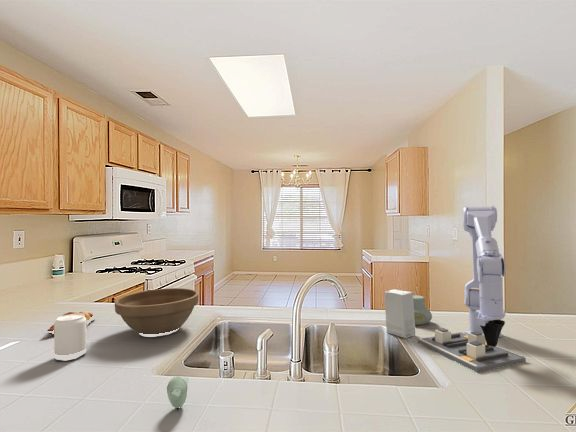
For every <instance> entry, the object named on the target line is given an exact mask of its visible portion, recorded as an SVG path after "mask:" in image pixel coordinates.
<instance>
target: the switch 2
mask: <svg viewBox="0 0 576 432" xmlns="http://www.w3.org/2000/svg"><path fill="white" fill-rule="evenodd" d="M467 356H469V357H471V358H473V359H475V360H477V358H479V357H484V356H485V345H483V344H482V343H479V342H477V341H473V342H469V343H467Z"/></svg>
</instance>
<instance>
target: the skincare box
mask: <svg viewBox="0 0 576 432" xmlns="http://www.w3.org/2000/svg"><path fill="white" fill-rule="evenodd" d="M413 295H414V292H413V291H405V290H401V289H396V288H394V289H390V290H386V291H384V307H385V308H384V309H385V326H386V333H388V334H390V335H393V336H397V337H400V338H403V339H407V338H410V337H414V336H416V325H415V319H414V303H413Z"/></svg>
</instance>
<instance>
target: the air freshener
mask: <svg viewBox="0 0 576 432" xmlns="http://www.w3.org/2000/svg"><path fill="white" fill-rule="evenodd" d="M425 300H426V299H425V297H424V296H422V295H417V294H415V295H414V294H413V303H414V319H415V326H422V325H427V324H429V323H430V322H431V320H432V319H433V314H432V312H431V311H430V309H428V308H426V307H425V305H426V304H425V303H426V302H425Z"/></svg>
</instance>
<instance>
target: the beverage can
mask: <svg viewBox="0 0 576 432" xmlns="http://www.w3.org/2000/svg"><path fill="white" fill-rule="evenodd" d="M63 315H64V314H63ZM54 323H55V324H53V325H54V335H53V336H54V337H53V338H54V347H53V349H54V352H53V353H55V354H57V355H69V354H74V353H77V352H80V351H82V350H84V349H85V348H86V347H88V345H87V343H88V342H87V339H88V338H87V337H88V334H87V332H88V331H87V329H88V328H87V327H88V326H87V323H86V318H85V315H84V314H69V315H64V316H62V315H61V316H59V317H57V318H56V320H55V322H54Z"/></svg>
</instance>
